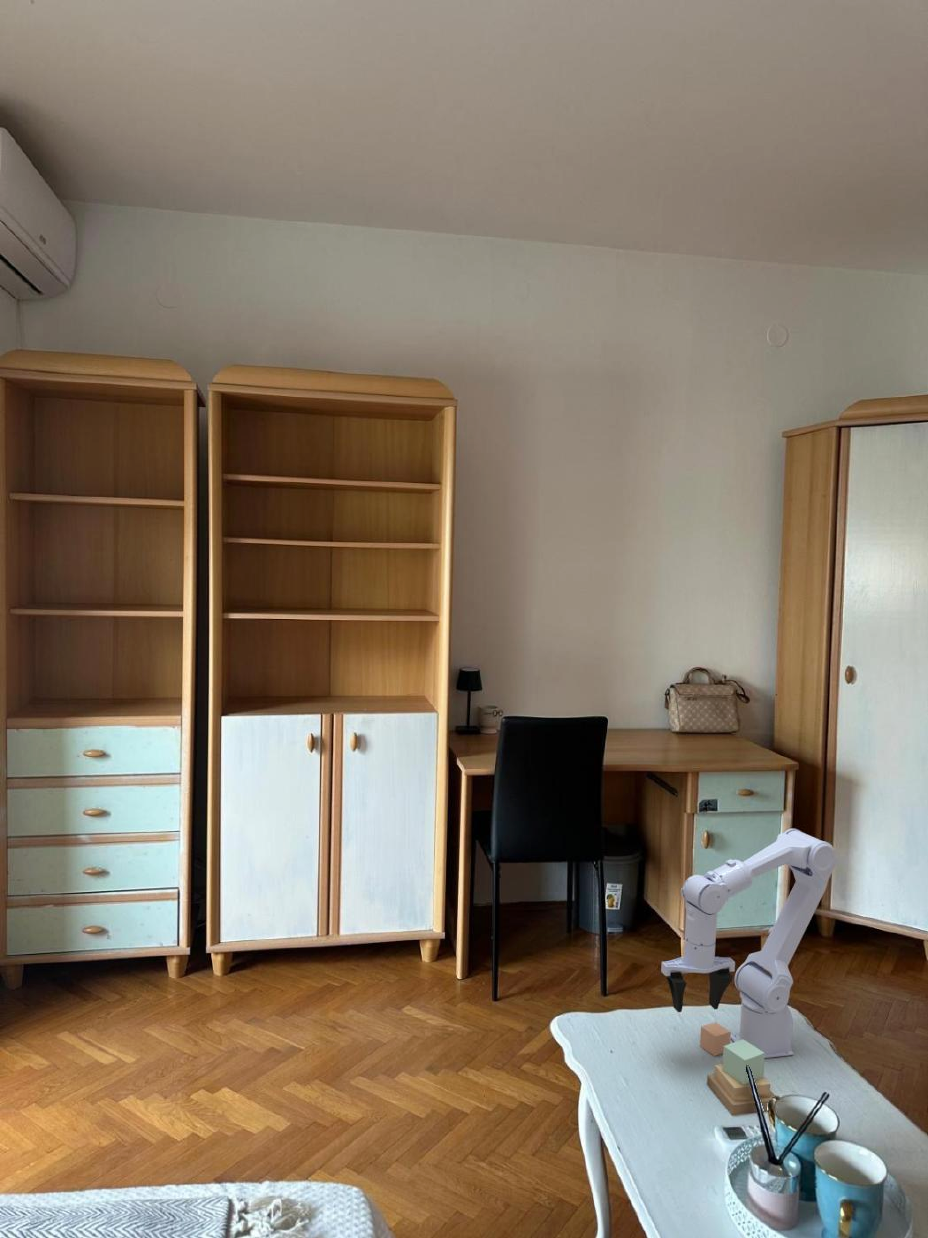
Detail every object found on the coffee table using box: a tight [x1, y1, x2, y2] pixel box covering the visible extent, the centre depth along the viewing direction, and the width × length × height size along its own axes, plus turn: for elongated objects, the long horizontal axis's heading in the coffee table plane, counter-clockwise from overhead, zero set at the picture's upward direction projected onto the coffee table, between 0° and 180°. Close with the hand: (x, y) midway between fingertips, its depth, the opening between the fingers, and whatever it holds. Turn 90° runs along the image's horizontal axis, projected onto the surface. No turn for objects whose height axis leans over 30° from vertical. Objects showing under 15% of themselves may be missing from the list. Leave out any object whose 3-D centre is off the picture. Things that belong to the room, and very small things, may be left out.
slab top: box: [713, 1063, 771, 1101], centre depth 156 cm, size 7×7×2 cm
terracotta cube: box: [699, 1021, 731, 1057], centre depth 171 cm, size 4×4×4 cm
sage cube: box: [722, 1039, 766, 1085], centre depth 155 cm, size 5×5×5 cm
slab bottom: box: [706, 1073, 776, 1116], centre depth 156 cm, size 9×9×2 cm
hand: (695, 1008), depth 166 cm, fingers open, 7 cm apart
